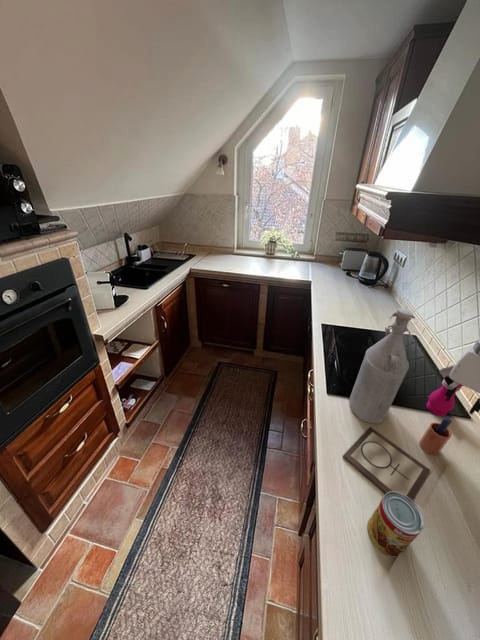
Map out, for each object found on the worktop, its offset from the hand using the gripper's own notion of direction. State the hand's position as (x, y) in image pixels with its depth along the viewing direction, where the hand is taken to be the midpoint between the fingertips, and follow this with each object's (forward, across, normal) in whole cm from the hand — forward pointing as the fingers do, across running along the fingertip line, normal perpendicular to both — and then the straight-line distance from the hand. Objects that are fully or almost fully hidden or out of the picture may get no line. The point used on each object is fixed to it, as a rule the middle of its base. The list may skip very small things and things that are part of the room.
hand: (460, 404), depth 69 cm
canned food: (+20, -1, +33) cm, 39 cm away
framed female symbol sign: (+20, +7, +16) cm, 27 cm away
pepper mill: (+20, +5, -19) cm, 28 cm away
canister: (+20, +21, 0) cm, 29 cm away
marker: (+20, +1, 0) cm, 20 cm away
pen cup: (+20, +1, 0) cm, 20 cm away
